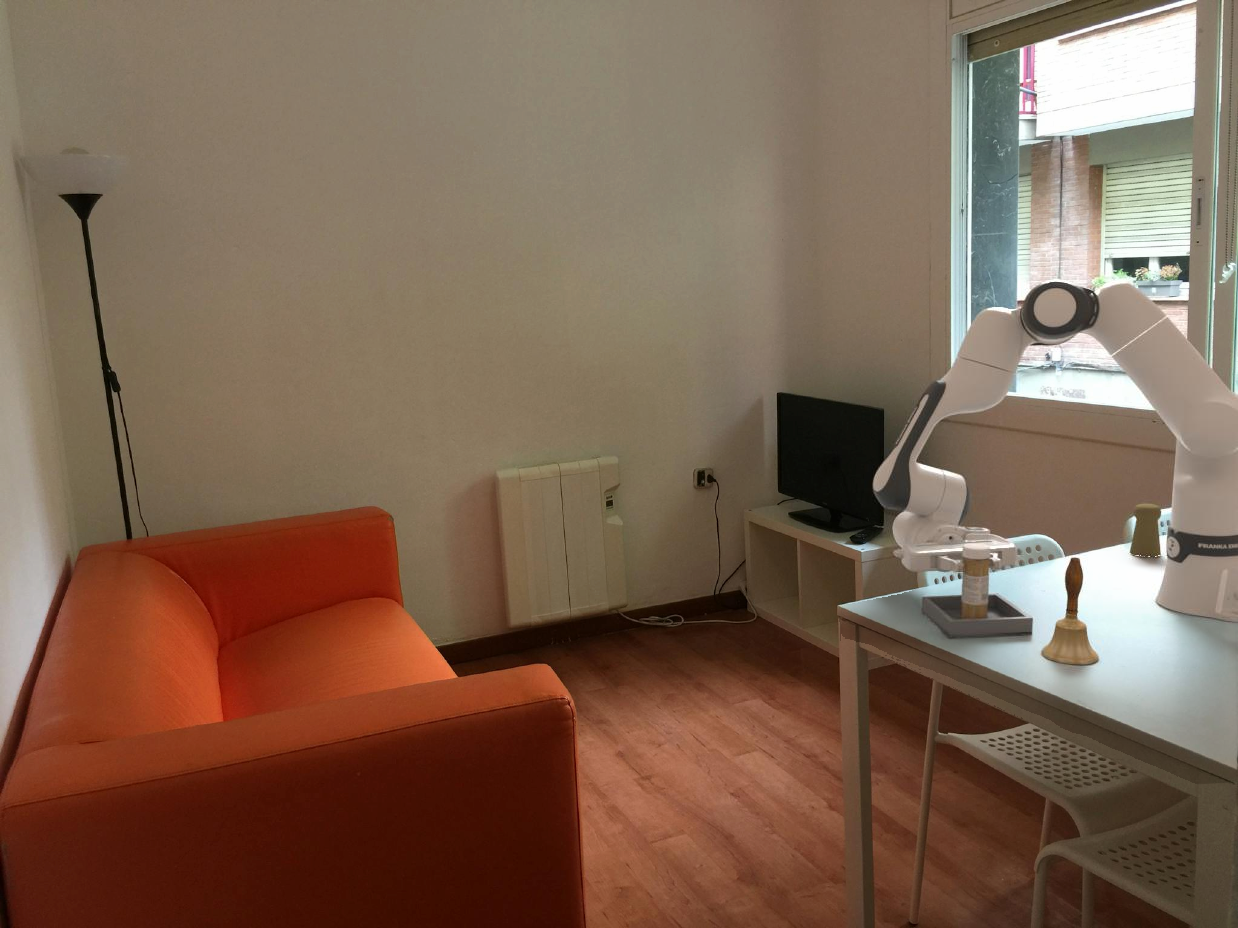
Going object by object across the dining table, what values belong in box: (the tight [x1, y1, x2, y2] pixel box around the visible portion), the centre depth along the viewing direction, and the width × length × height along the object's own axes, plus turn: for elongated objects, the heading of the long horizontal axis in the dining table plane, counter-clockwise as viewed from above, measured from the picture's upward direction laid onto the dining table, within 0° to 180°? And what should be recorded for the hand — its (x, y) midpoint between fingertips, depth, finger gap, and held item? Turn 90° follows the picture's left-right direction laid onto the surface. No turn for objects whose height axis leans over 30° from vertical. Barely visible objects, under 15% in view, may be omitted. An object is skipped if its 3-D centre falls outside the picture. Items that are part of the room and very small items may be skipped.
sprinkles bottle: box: [961, 543, 990, 619], centre depth 171 cm, size 5×5×14 cm
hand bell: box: [1041, 557, 1100, 666], centre depth 154 cm, size 8×8×16 cm
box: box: [921, 592, 1034, 640], centre depth 171 cm, size 14×14×3 cm
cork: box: [1129, 503, 1162, 558], centre depth 211 cm, size 6×6×11 cm
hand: (978, 566), depth 169 cm, fingers open, 5 cm apart
